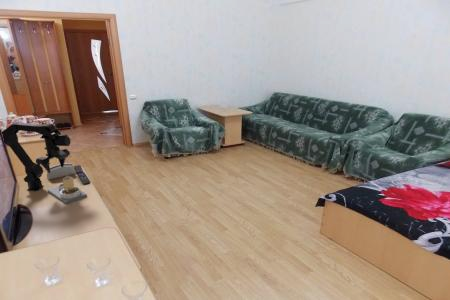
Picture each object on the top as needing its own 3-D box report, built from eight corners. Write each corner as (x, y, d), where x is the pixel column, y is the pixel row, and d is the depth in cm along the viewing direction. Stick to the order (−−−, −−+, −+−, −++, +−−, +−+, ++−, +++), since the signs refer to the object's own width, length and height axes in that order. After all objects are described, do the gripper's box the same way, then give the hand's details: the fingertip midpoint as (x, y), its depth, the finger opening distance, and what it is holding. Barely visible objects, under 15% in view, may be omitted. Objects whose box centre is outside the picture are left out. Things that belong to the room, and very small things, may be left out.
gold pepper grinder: (63, 197, 162) (59, 179, 158) (64, 192, 168) (61, 174, 164) (76, 195, 164) (73, 177, 160) (77, 190, 170) (74, 173, 166)
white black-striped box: (73, 171, 201) (72, 160, 195) (75, 175, 198) (74, 164, 193) (46, 177, 190) (44, 165, 185) (48, 181, 188) (46, 170, 182)
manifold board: (47, 191, 171) (46, 185, 169) (68, 185, 180) (66, 178, 179) (66, 204, 158) (64, 196, 157) (86, 196, 167) (85, 189, 166)
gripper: (47, 152, 154) (52, 178, 160) (74, 142, 171) (78, 166, 176) (32, 149, 158) (38, 174, 163) (60, 140, 175) (64, 163, 180)
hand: (55, 169), depth 170 cm, fingers open, 9 cm apart
